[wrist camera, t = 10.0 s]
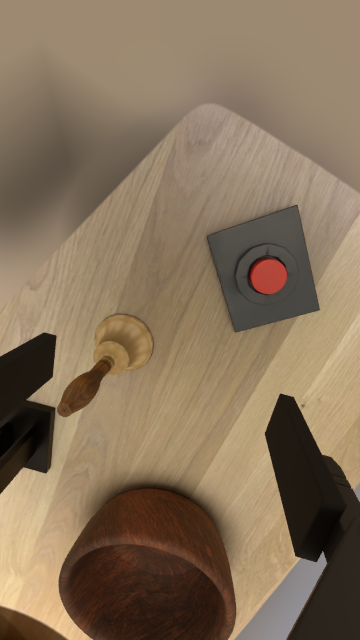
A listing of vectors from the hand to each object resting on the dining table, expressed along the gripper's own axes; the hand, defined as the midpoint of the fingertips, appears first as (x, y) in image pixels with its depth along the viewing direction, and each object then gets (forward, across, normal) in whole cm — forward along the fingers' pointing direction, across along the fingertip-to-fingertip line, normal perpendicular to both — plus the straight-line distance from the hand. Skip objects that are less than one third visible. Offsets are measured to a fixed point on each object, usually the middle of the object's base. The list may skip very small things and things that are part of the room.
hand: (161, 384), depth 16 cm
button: (+18, +7, +6) cm, 20 cm away
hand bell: (+21, -8, -8) cm, 24 cm away
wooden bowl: (+21, +4, -41) cm, 46 cm away
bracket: (+21, -21, -28) cm, 41 cm away
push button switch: (+21, +7, +6) cm, 23 cm away
